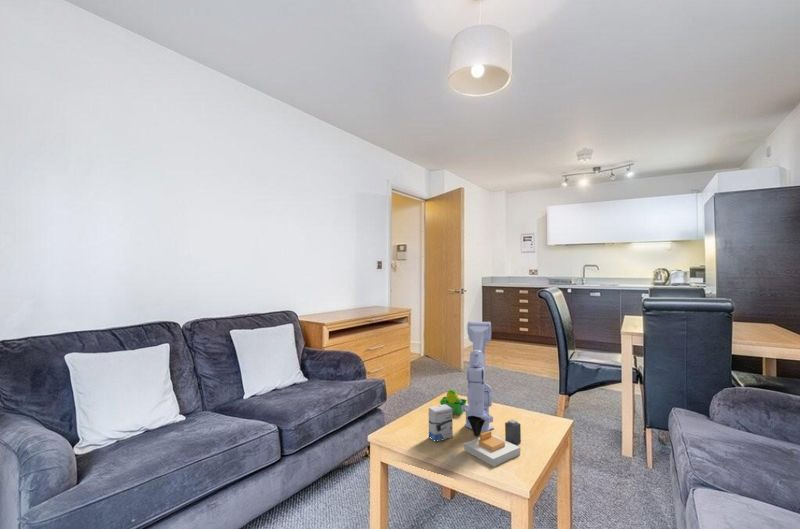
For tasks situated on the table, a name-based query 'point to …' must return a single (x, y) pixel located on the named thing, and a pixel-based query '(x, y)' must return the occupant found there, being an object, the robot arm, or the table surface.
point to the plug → (512, 432)
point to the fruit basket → (453, 401)
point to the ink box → (440, 422)
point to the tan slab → (490, 441)
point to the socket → (492, 456)
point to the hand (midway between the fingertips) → (477, 435)
